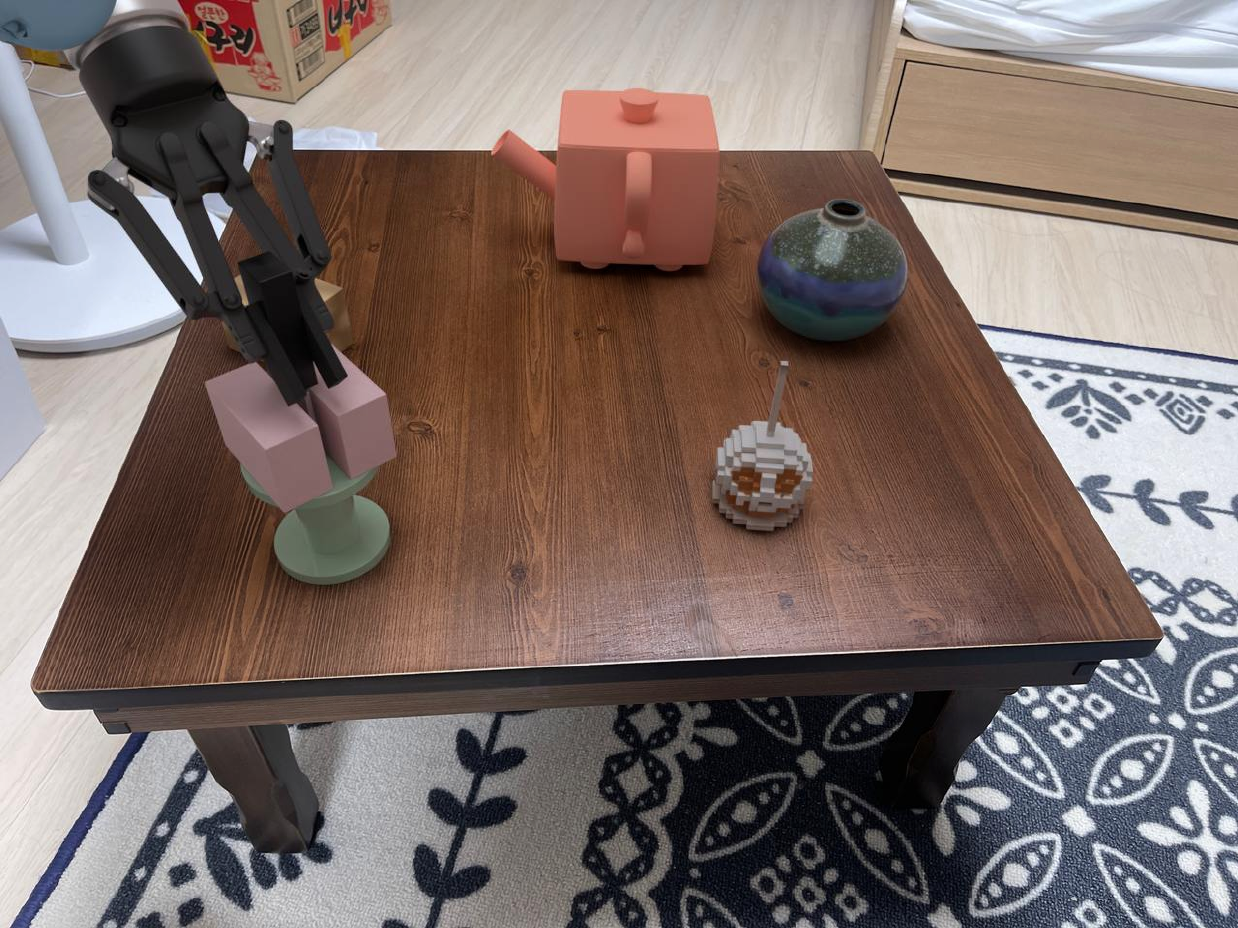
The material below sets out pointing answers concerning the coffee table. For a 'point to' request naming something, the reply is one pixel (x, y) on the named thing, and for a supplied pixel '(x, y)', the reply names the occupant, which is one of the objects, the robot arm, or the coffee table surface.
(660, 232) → the teapot
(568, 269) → the coffee table surface
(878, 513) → the coffee table surface
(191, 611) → the coffee table surface
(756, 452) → the decorative ornament
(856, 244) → the vase
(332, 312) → the knife block
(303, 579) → the cake stand
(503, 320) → the coffee table surface
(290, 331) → the knife
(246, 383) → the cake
